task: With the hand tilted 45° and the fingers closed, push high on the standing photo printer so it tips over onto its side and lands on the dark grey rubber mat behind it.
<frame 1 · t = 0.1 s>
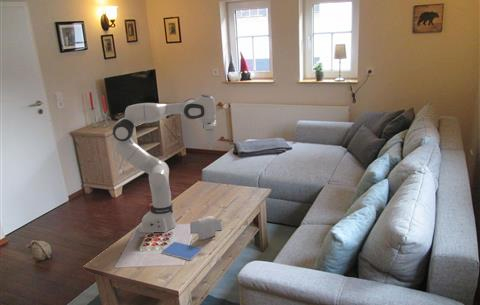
hand: (210, 146, 232), 48 cm above the table, tool pointing down, fingers open, 8 cm apart
tablet computer: (182, 252, 213), on the table
photo printer: (207, 237, 227), on the table
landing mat: (206, 226, 239), on the table
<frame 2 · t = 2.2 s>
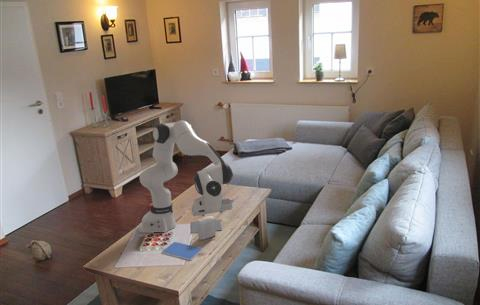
hand: (211, 213, 202), 23 cm above the table, tool tilted 45°, fingers open, 8 cm apart
nothing on the table moved.
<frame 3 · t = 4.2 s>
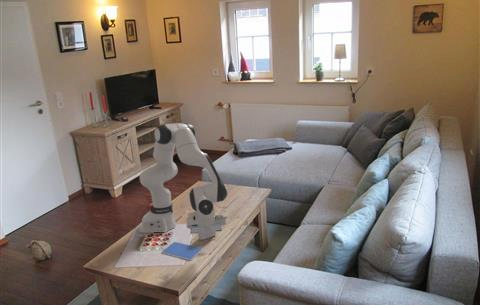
hand: (206, 226, 210), 14 cm above the table, tool tilted 45°, fingers closed
nothing on the table moved.
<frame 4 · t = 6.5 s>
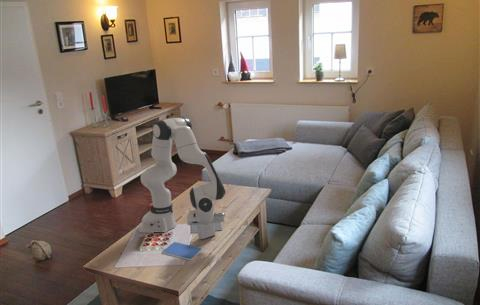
hand: (205, 223, 222), 10 cm above the table, tool tilted 45°, fingers closed
photo printer: (207, 236, 227), on the table, touching gripper
everything else where it was.
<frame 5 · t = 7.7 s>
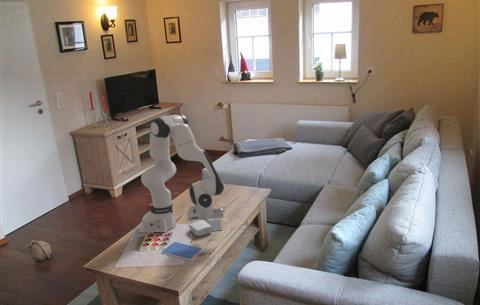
hand: (205, 219, 226), 10 cm above the table, tool tilted 45°, fingers closed
photo printer: (205, 231, 228), point 3 cm above the table, touching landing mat
everything else where it was.
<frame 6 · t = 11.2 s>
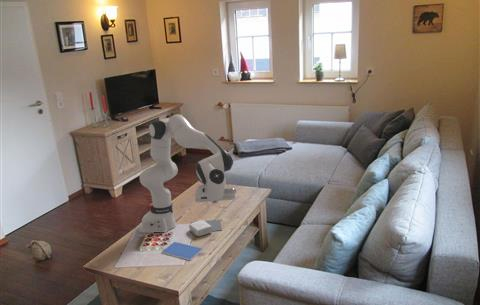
hand: (214, 201, 205), 28 cm above the table, tool tilted 45°, fingers closed
nothing on the table moved.
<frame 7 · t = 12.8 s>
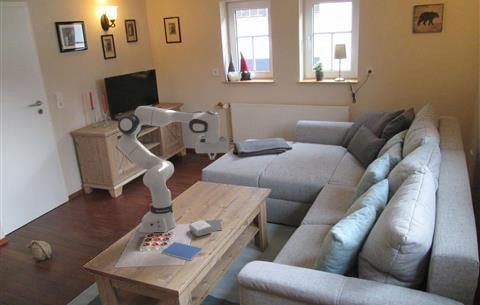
hand: (212, 159, 242), 38 cm above the table, tool pointing down, fingers closed
nothing on the table moved.
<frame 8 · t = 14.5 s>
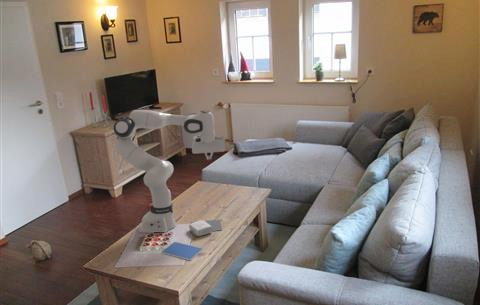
hand: (209, 159, 244), 37 cm above the table, tool pointing down, fingers closed
nothing on the table moved.
at the end: photo printer tilted 91°; photo printer touching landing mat; photo printer inside the target area (7.5 cm from its centre), point 2.5 cm above the table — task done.
